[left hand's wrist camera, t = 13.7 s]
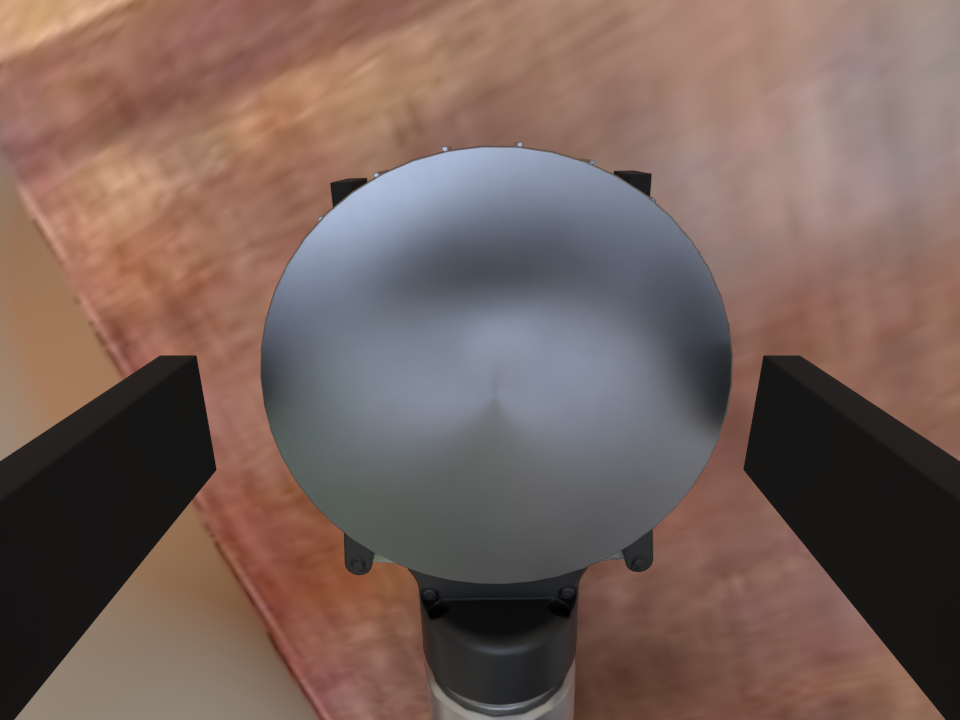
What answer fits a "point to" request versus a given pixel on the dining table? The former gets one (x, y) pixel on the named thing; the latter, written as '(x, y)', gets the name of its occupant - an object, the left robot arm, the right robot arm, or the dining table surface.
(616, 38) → the dining table surface
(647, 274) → the lid
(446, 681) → the right robot arm
